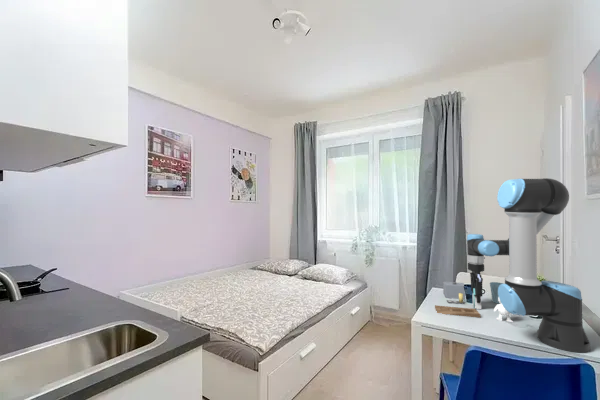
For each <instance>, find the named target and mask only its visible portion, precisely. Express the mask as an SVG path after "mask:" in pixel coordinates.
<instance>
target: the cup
mask: <svg viewBox="0 0 600 400" xmlns="http://www.w3.org/2000/svg"><path fill="white" fill-rule="evenodd" d="M501 284H505V282H504V283H503V282H498V281H497V282H496V281H491V282H489V287H490V294H491V300H492V303H494V304H496V305H498V304H501V303H499V301H498V297H499V295H498V287H499V286H500V285H501Z"/></svg>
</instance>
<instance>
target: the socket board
mask: <svg viewBox="0 0 600 400" xmlns="http://www.w3.org/2000/svg"><path fill="white" fill-rule="evenodd" d="M434 310H435V312H436V311H437V312H436V313H442V314H441V315H447V314H450V315H449V316H458V315H459V316H461V317H471V318H479V319H480V318H481V314H480V312H479V311H478V310H477V309H475V308H469V307H458V306H445V305H434Z"/></svg>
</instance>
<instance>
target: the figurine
mask: <svg viewBox="0 0 600 400" xmlns="http://www.w3.org/2000/svg"><path fill="white" fill-rule="evenodd" d="M498 301H499V303H501V301H500V299H499V297H498ZM493 312H498V317H496V321H500V322H502V321H503V316H505V317H506V322H508V323H509V322H510V323H513V320H512V319H511V317H510V314H511V313H509V312H508V311H507V310H506V309H505V308H504V307H503V305H502V303H501V304H496V305H495V306H494V308H493ZM512 315H514V316H515V314H512Z"/></svg>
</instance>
